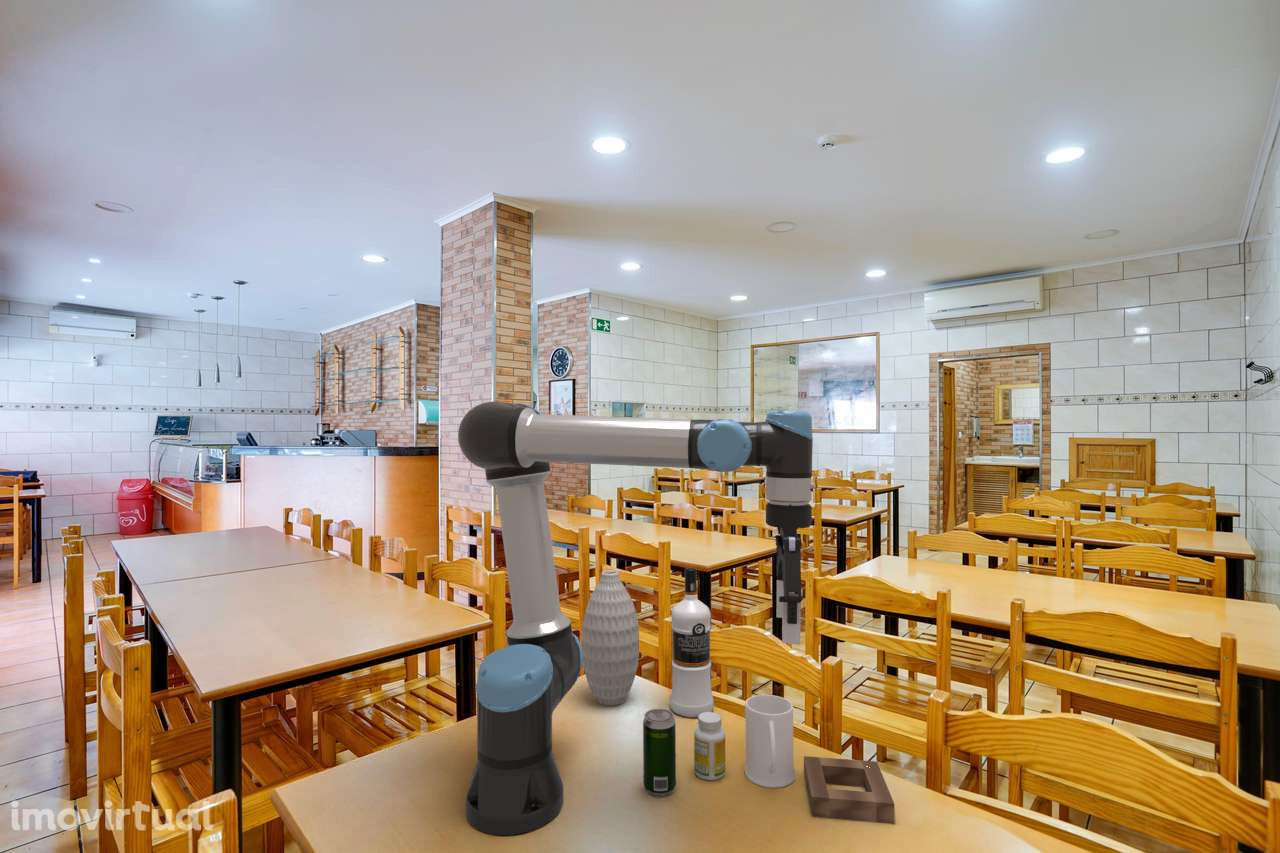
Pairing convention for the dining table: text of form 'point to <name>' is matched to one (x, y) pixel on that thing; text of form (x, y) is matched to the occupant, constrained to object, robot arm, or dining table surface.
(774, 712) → the mug
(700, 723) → the supplement bottle
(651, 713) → the beer can
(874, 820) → the holder
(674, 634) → the vodka
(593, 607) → the vase
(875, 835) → the dining table surface
